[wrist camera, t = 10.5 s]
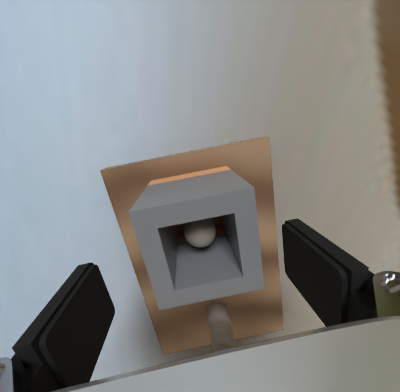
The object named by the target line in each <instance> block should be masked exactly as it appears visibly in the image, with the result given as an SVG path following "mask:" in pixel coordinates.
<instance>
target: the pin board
mask: <svg viewBox="0 0 400 392" xmlns="http://www.w3.org/2000/svg"><path fill="white" fill-rule="evenodd" d="M224 166H227V167H229V168H230V169H231V170H233V171H234V172H235V173H236V174H238V175H239V176H240V177H242V178H243V179H244V180H246V181H247V182H248V183H250V184H251V185H252V186H253V187H254V188H255V198H256V208H257V218H258V228H259V238H260V248H261V258H262V268H263V278H264V288H265V289H260V290H255V291H250V292H245V293H241V294H236V295H231V296H226V297H221V298H216V299H211V300H206V301H202V302H197V303H192V304H187V305H182V306H177V307H172V308H167V309H163V310H159V307H158V304H157V301H156V298H155V295H154V291H153V288H152V285H151V282H150V279H149V276H148V272H147V269H146V266H145V263H144V260H143V257H142V254H141V250H140V247H139V244H138V241H137V238H136V235H135V231H134V228H133V225H132V222H131V219H130V216H129V213H128V212H129V210H130V209H131V208H132V206H133V205H134V203H135V202H136V201H137V199H138V198H139V196H140V195H141V194H142V192H143V191H144V190H145V188H146V187H147V185H148V184H149V183H150V181H152V180H157V179H162V178H167V177H172V176H177V175H183V174H188V173H193V172H198V171H203V170H208V169H213V168H219V167H224ZM101 174H102V177H103V180H104V183H105V186H106V189H107V192H108V195H109V198H110V200H111V203H112V206H113V209H114V212H115V215H116V218H117V221H118V224H119V227H120V229H121V232H122V235H123V238H124V241H125V244H126V247H127V250H128V253H129V256H130V259H131V261H132V264H133V267H134V270H135V273H136V276H137V279H138V282H139V285H140V288H141V290H142V293H143V296H144V299H145V302H146V305H147V308H148V311H149V314H150V317H151V319H152V322H153V325H154V328H155V331H156V334H157V337H158V340H159V343H160V346H161V349H162V351H163V354H164V355H165V354H170V353H175V352H179V351H184V350H189V349H193V348H198V347H203V346H208V345H212V352H217V351H222V350H226V349H230V348H234V347H237V346H236V342H235V340H236V339H241V338H246V337H250V336H255V335H260V334H264V333H269V332H274V331H279V330H283V316H282V303H281V289H280V276H279V262H278V248H277V235H276V221H275V208H274V194H273V180H272V167H271V153H270V140H269V137H262V138H257V139H252V140H247V141H241V142H236V143H231V144H226V145H221V146H216V147H211V148H206V149H201V150H196V151H190V152H185V153H180V154H175V155H170V156H165V157H160V158H155V159H150V160H145V161H139V162H134V163H129V164H124V165H119V166H114V167H109V168H105V169H103V170H101ZM218 225H222V222H221V216H217V217H212V218H207V219H202V220H197V221H192V222H187V223H182V224H177V225H176V226H177V230H178V233H183V232H184V234H185V237H186V240H187V241H188V242H189V243H190V244H191V245H193V246H195V247H205V246H208V245H209V244H210V243H211V242H212V241H213V240H214V238H215V235H216V228H215V226H218Z"/></svg>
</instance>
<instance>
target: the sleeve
mask: <svg viewBox="0 0 400 392" xmlns="http://www.w3.org/2000/svg"><path fill="white" fill-rule="evenodd" d="M128 213H129V216H130V219H131V222H132V225H133V228H134V231H135V235H136V238H137V241H138V244H139V247H140V250H141V254H142V257H143V260H144V263H145V266H146V269H147V272H148V276H149V279H150V282H151V285H152V288H153V291H154V295H155V298H156V301H157V304H158V307H159V310H163V309H167V308H172V307H177V306H182V305H187V304H192V303H197V302H202V301H206V300H211V299H216V298H221V297H226V296H231V295H236V294H241V293H245V292H250V291H255V290H260V289H265V288H264V278H263V268H262V258H261V248H260V238H259V228H258V218H257V208H256V198H255V188H254V187H253V186H252V185H251V184H250V183H248V182H247V181H246V180H244V179H243V178H242V177H240V176H239V175H238V174H236V173H235V172H234V171H233V170H231V169H230V168H229V167H227V166H224V167H219V168H213V169H208V170H203V171H198V172H193V173H188V174H183V175H177V176H172V177H167V178H162V179H157V180H152V181H150V183H149V184H148V185H147V187H146V188H145V190H144V191H143V192H142V194H141V195H140V196H139V198H138V199H137V201H136V202H135V203H134V205H133V206H132V208H131V209H130V210H129V212H128ZM217 216H221V222H222V225H218V226H215V228H216V235H215V238H214V240H213V241H212V242H211V243H210V244H209V245H208V246H205V247H195V246H193V245H191V244H190V243H189V242H188V241H187V240H186V237H185V234H184V232H183V233H178V230H177V226H176V225H177V224H182V223H187V222H192V221H197V220H202V219H207V218H212V217H217Z"/></svg>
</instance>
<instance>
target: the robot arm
mask: <svg viewBox="0 0 400 392" xmlns="http://www.w3.org/2000/svg"><path fill="white" fill-rule="evenodd" d="M282 235H283V249H284V264H285V272H286V274H287V276H288V278H289V279H290V280H291V282H292V283H293V284H294V285H295V287H296V288H297V289H298V291H299V292H300V293H301V295H302V296H303V297H304V298H305V300H306V301H307V302H308V304H309V305H310V306H311V308H312V309H313V310H314V311H315V313H316V314H317V315H318V317H319V318H320V319H321V321H322V322H323V323H324V324H325V326H326V327H324V328H319V329H314V330H309V331H305V332H300V333H296V334H292V335H287V336H283V337H278V338H274V339H270V340H265V341H261V342H256V343H252V344H248V345H243V346H239V347H234V348H230V349H226V350H222V351H217V352H213V353H209V354H204V355H200V356H196V357H192V358H187V359H183V360H179V361H175V362H170V363H166V364H162V365H158V366H153V367H149V368H145V369H141V370H137V371H133V372H129V373H124V374H120V375H116V376H112V377H108V378H104V379H99V380H95V381H91V382H89V381H90V379H91V376H92V373H93V371H94V368H95V365H96V363H97V360H98V357H99V355H100V352H101V349H102V347H103V344H104V341H105V339H106V336H107V333H108V331H109V328H110V325H111V323H112V320H113V317H114V314H115V308H114V305H113V303H112V300H111V298H110V295H109V293H108V290H107V288H106V285H105V283H104V280H103V278H102V275H101V273H100V270H99V268H98V266H97V265H94V264H93V263H87V264H82V265H79V266H77V268H76V269H75V270H74V271H73V273H72V274H71V275H70V276H69V278H68V279H67V280H66V281H65V283H64V284H63V285H62V286H61V288H60V289H59V290H58V291H57V292H56V294H55V295H54V296H53V297H52V299H51V300H50V301H49V302H48V304H47V305H46V306H45V307H44V309H43V310H42V311H41V312H40V314H39V315H38V316H37V317H36V319H35V320H34V321H33V322H32V324H31V325H30V326H29V327H28V329H27V330H26V331H25V332H24V334H23V335H22V336H21V337H20V339H19V340H18V341H17V342H16V344H15V345H14V346H13V347H12V349H13V350H14V352H15V355H14V356H13V357H12V359H10V358H7V357H4V358H0V392H400V272H394V271H382V272H379V273H376V274H373V273H372V272H370V271H369V270H368V268H369V267H367V266H366V265H364V264H363V263H361V262H360V261H358V260H357V259H356V258H354V257H353V256H351V255H350V254H348V253H347V252H345V251H344V250H343V249H341V248H340V247H338V246H337V245H335V244H334V243H332V242H331V241H329V240H328V239H327V238H325V237H324V236H322V235H321V234H319V233H318V232H316V231H315V230H314V229H312V228H311V227H309V226H308V225H306V224H305V223H303V222H302V221H301V220H299V219H293V220H288V221H285V224H283V225H282Z"/></svg>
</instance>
